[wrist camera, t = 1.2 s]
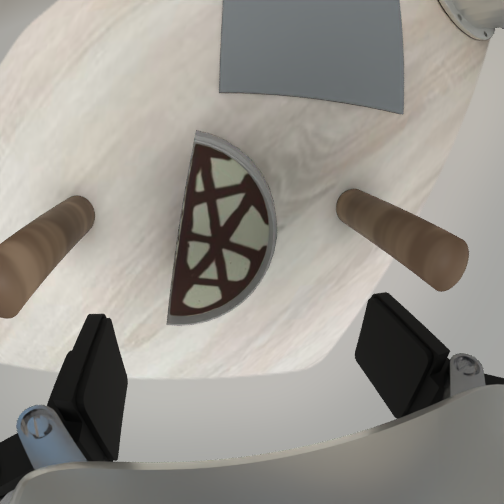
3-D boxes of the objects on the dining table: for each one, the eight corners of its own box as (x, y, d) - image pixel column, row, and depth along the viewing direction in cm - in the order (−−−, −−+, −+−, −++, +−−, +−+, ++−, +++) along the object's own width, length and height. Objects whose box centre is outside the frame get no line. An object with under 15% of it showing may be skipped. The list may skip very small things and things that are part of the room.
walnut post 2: (369, 189, 28) (473, 237, 15) (365, 224, 30) (460, 288, 17) (338, 188, 28) (438, 238, 15) (334, 224, 29) (424, 294, 16)
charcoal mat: (396, -2, 20) (399, -2, 20) (401, 114, 26) (403, 114, 25) (225, -39, 17) (226, -41, 17) (219, 92, 23) (219, 91, 22)
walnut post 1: (92, 194, 24) (10, 256, 11) (97, 232, 25) (29, 319, 12) (58, 197, 23) (-34, 258, 10) (63, 234, 24) (-15, 317, 12)
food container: (237, 274, 29) (257, 340, 20) (173, 266, 28) (165, 331, 19) (267, 145, 25) (308, 154, 16) (196, 131, 24) (195, 129, 14)
